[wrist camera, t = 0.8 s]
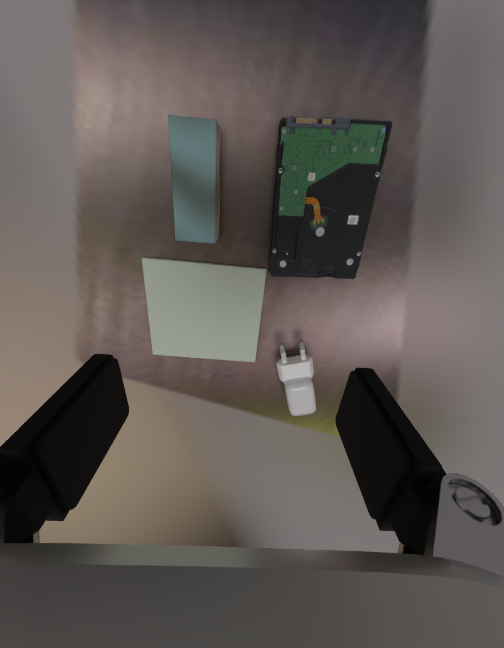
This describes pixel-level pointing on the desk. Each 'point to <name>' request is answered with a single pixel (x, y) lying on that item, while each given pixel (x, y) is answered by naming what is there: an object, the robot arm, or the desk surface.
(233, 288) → the mat
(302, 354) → the power adapter
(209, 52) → the desk surface
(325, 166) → the disk drive
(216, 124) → the teal-faced wooden block
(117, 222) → the desk surface
